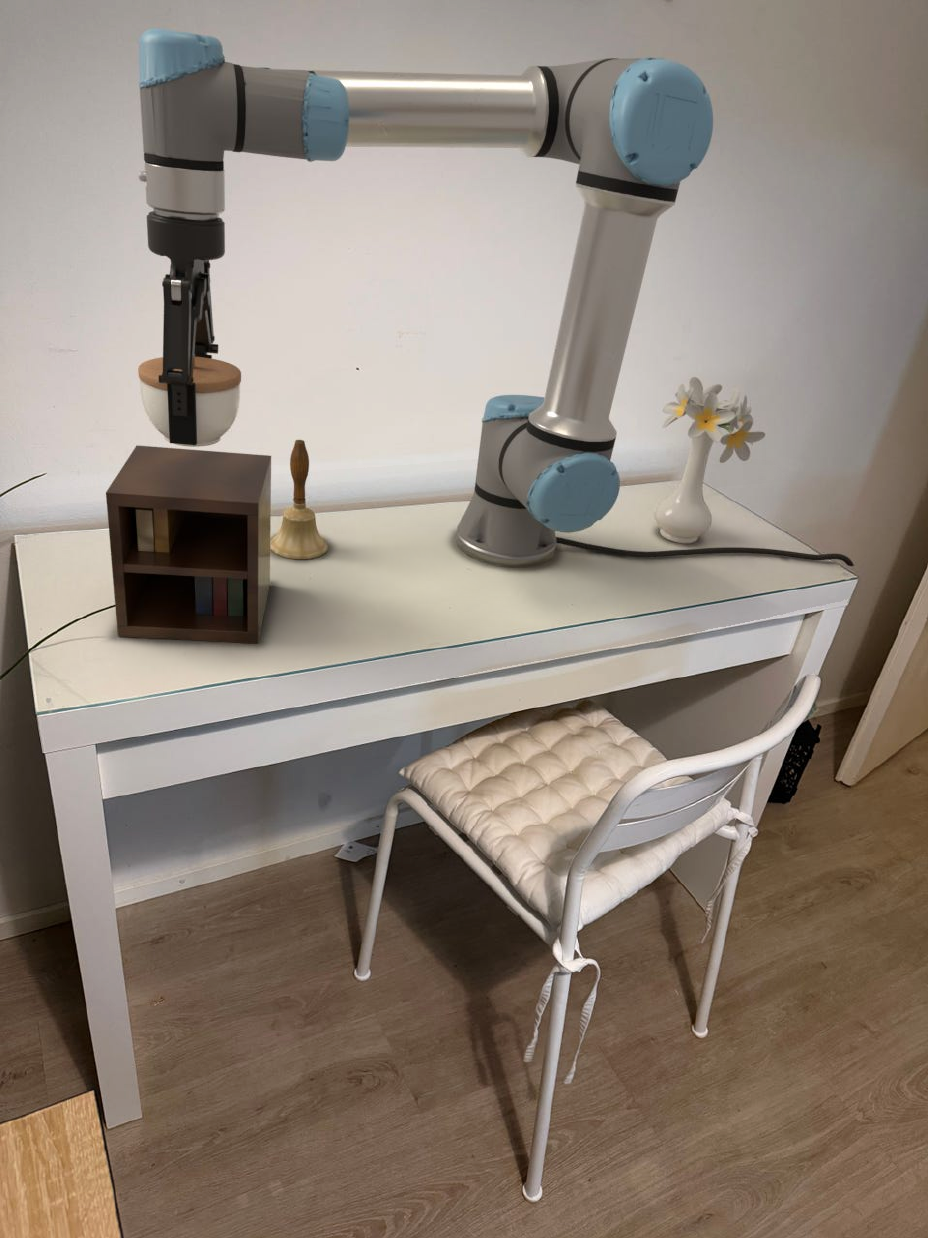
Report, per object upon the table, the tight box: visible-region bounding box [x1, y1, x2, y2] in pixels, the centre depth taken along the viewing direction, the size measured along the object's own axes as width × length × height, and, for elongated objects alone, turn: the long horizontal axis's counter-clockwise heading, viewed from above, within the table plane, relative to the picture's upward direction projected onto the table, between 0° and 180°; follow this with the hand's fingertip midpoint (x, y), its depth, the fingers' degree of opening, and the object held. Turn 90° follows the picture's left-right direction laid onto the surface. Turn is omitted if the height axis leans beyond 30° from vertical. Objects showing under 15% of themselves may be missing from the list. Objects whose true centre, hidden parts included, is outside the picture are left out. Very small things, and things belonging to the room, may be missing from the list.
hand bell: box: [270, 439, 329, 560], centre depth 128 cm, size 8×8×16 cm
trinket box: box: [137, 354, 242, 448], centre depth 101 cm, size 11×11×9 cm
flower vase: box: [654, 376, 766, 544], centre depth 146 cm, size 13×18×25 cm
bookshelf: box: [105, 444, 272, 644], centre depth 109 cm, size 16×15×18 cm
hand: (192, 426), depth 102 cm, fingers closed on trinket box, 11 cm apart
